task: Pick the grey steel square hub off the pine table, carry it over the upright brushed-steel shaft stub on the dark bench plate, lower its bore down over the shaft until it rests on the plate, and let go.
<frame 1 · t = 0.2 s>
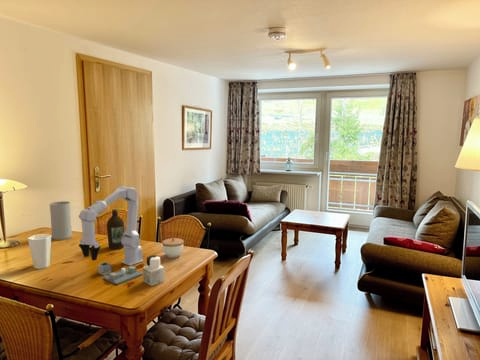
hand: (90, 258, 175), 10 cm above the table, fingers open, 7 cm apart
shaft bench: (123, 276, 176), on the table
container: (154, 281, 171), on the table
hub: (104, 273, 181), on the table
cup: (41, 266, 189), on the table
cylinder vase: (62, 237, 242), on the table
olive oil: (116, 247, 222), on the table
lidded bowl: (173, 256, 207), on the table
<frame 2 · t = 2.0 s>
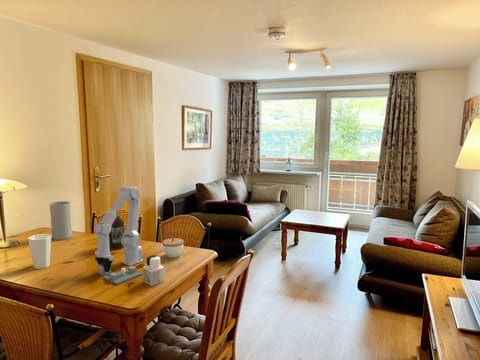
hand: (104, 270, 181), 1 cm above the table, fingers closed on hub, 5 cm apart
hub: (104, 273, 181), on the table, touching gripper
everything else where it was.
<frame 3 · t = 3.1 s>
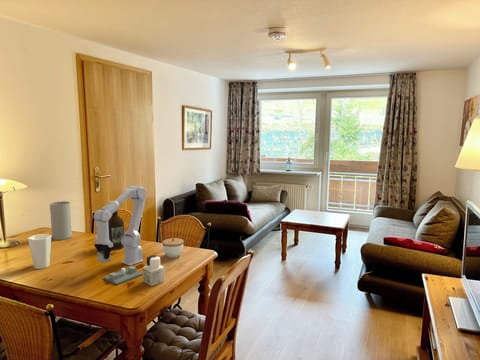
hand: (104, 257, 180), 9 cm above the table, fingers closed on hub, 5 cm apart
hub: (104, 260, 180), point 7 cm above the table, touching gripper
everything else where it was.
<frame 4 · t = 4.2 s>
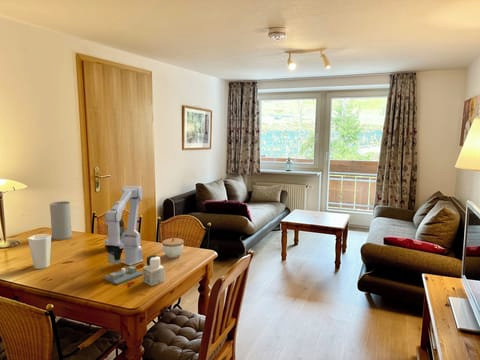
hand: (114, 259, 177), 9 cm above the table, fingers closed on hub, 5 cm apart
hub: (114, 262, 177), point 7 cm above the table, touching gripper
everything else where it was.
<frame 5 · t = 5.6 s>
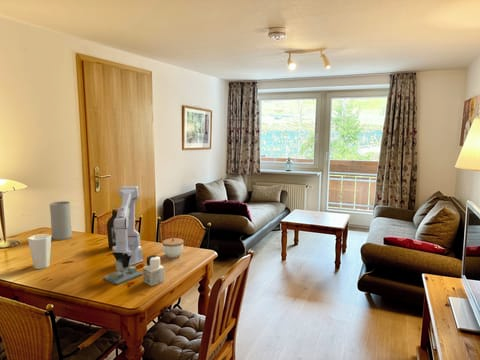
hand: (122, 266, 175), 6 cm above the table, fingers closed on hub, 5 cm apart
hub: (122, 269, 175), point 4 cm above the table, touching gripper
everything else where it was.
when the fingers open (3 cm above the table, at t = 6.6 s): hub stays where it is, resting on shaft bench.
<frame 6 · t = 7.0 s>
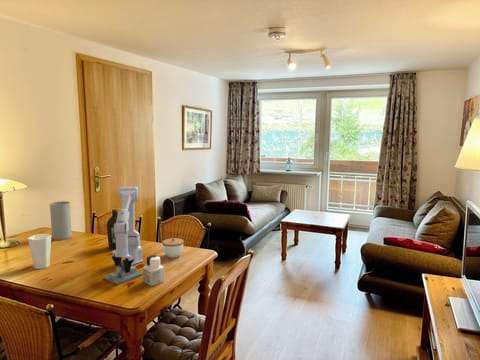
hand: (123, 270, 176), 3 cm above the table, fingers open, 7 cm apart
hub: (122, 275, 176), point 1 cm above the table, touching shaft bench
everything else where it was.
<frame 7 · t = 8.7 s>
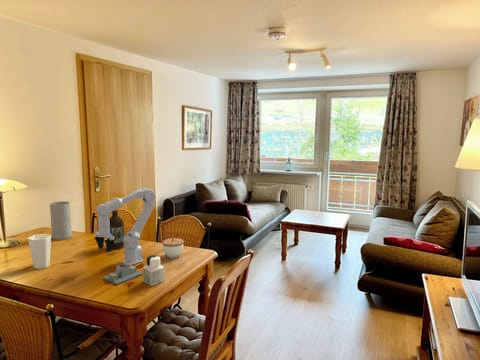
hand: (105, 250, 187), 10 cm above the table, fingers open, 7 cm apart
nothing on the table moved.
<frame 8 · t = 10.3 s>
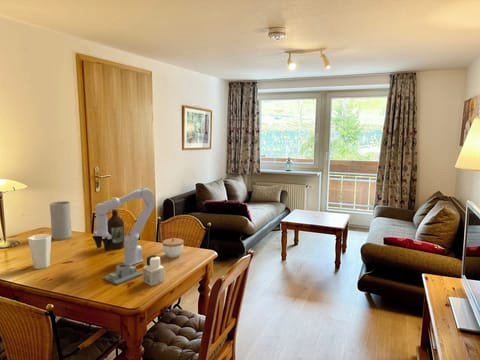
hand: (103, 249, 189), 10 cm above the table, fingers open, 7 cm apart
nothing on the table moved.
at the end: hub 0.2 cm off-centre on the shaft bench, point 1.0 cm above the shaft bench's base; hub tilted 0°; the gripper is holding nothing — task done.
